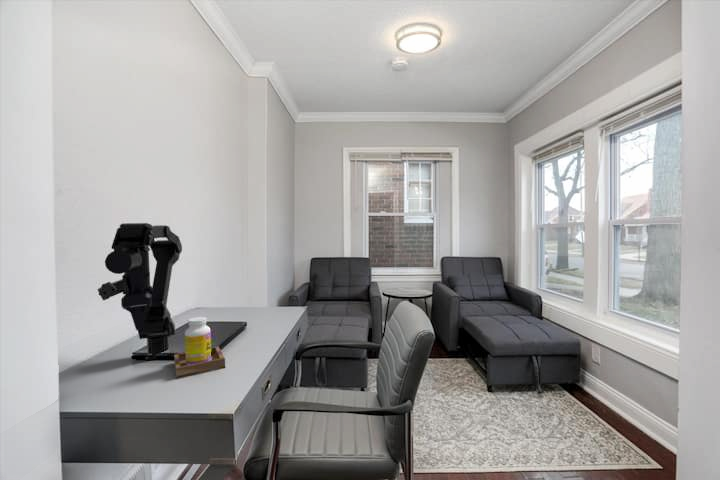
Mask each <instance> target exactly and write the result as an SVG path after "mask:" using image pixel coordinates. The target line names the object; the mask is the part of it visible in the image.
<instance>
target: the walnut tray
mask: <svg viewBox="0 0 720 480" xmlns="http://www.w3.org/2000/svg"><path fill="white" fill-rule="evenodd" d="M211 351H213V355H212V359H211V360H210V361H205V362H200V363H195V364H191V365H186V351H184V352H180V353H174V355H173V356H174V369H175V375H176V376H175V377H176V379H181V378H185V377H190V376H194V375H199V374H202V373H203V374H204V373H208V372H213V371H216V370H221V369H225V368H226V358H225V356H224V354H223V352H222V351H221V349H220V347H219V345H217V346H211Z"/></svg>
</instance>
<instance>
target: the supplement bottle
mask: <svg viewBox="0 0 720 480" xmlns="http://www.w3.org/2000/svg"><path fill="white" fill-rule="evenodd" d="M187 322H188V323H187V324H188V326H189V327H188V328H186V330H185V331H184V341H185V342H184V343H185V344H184V345H185V352H186V365H191V364H195V363H200V362H205V361H210V360H211V359H212V356H211V347H212V337H211V334H212V333H211V328H210V327H209V326H208V325H207V317H205V316H197V317H192V318H189V319H188V320H187Z"/></svg>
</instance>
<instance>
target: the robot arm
mask: <svg viewBox="0 0 720 480" xmlns="http://www.w3.org/2000/svg"><path fill="white" fill-rule="evenodd" d="M158 238H160V239H161V238H162V239H163V238H165V240H164V239H163V240H155V239H158ZM111 249H112V250H113V251H111V252H109V253H108V254H107V256H106V257H105V260H104V264H105V268H106V269H107V270H108V271H109V272H111V273H113V274H116V275H117V274H118V275H120V274H123V275H122V276H121V277H122V279H119V280H115V281H114V282H110V281H107V282H105V283H102V284H101V286H100V287H98V288H97V292H98V295H99V296H100V298H101V300H102V301H106V300H108V299H110V298H111V297H114V296H117V295H118V294H122V295H123V296H122V298H121V300H120V301H121V303H120V304H121V308H122V309H123V310H125V311H127V312H129V313H130V315H131V318H132V322H133V324H134V328H135V330H136V331H137V333H138V338H139V340H143V339H146V342H147V343H146V344H147V345H146V346H147V347H146V348H147V352H148V353H152V357H146V356H145V361H150V360H157V358H156V356H155V355H156V354H158V353H161V352H164V351H166V350H168V349H169V348H170V346H169V345H170V343H169V340H170V338H169V337H171V336H174V335H175V334H176V325H175V323H174V321H173V319H172V317H171V316H172V315H171V313H170V311H169V309H168V307H167V303H168V296H169V290H170V284H171V283H170V282H171V277H172V270H173V266H174V265H175V264H176V263H177V262H178V261H179V260H180V256H181V253H182V251H183V245H182V241H181V240H180V237H179V236H178V235H177V234H175V233H174V232H173V231H172V230H171V228H170V226H168V225H166V224H165V225H161V224H160V225H153V224H151V223H148V222H132V223H131V222H129V223H125V222H124V223H121V224H119V227H118V228H117V229H116V232H115V235H114V238H113V242H112V244H111ZM150 251H151V252H152V256H153V258H154V259H155V261H156V265H155V269H154V276H153V281H152V285H151V270H150V253H149V252H150Z"/></svg>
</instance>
